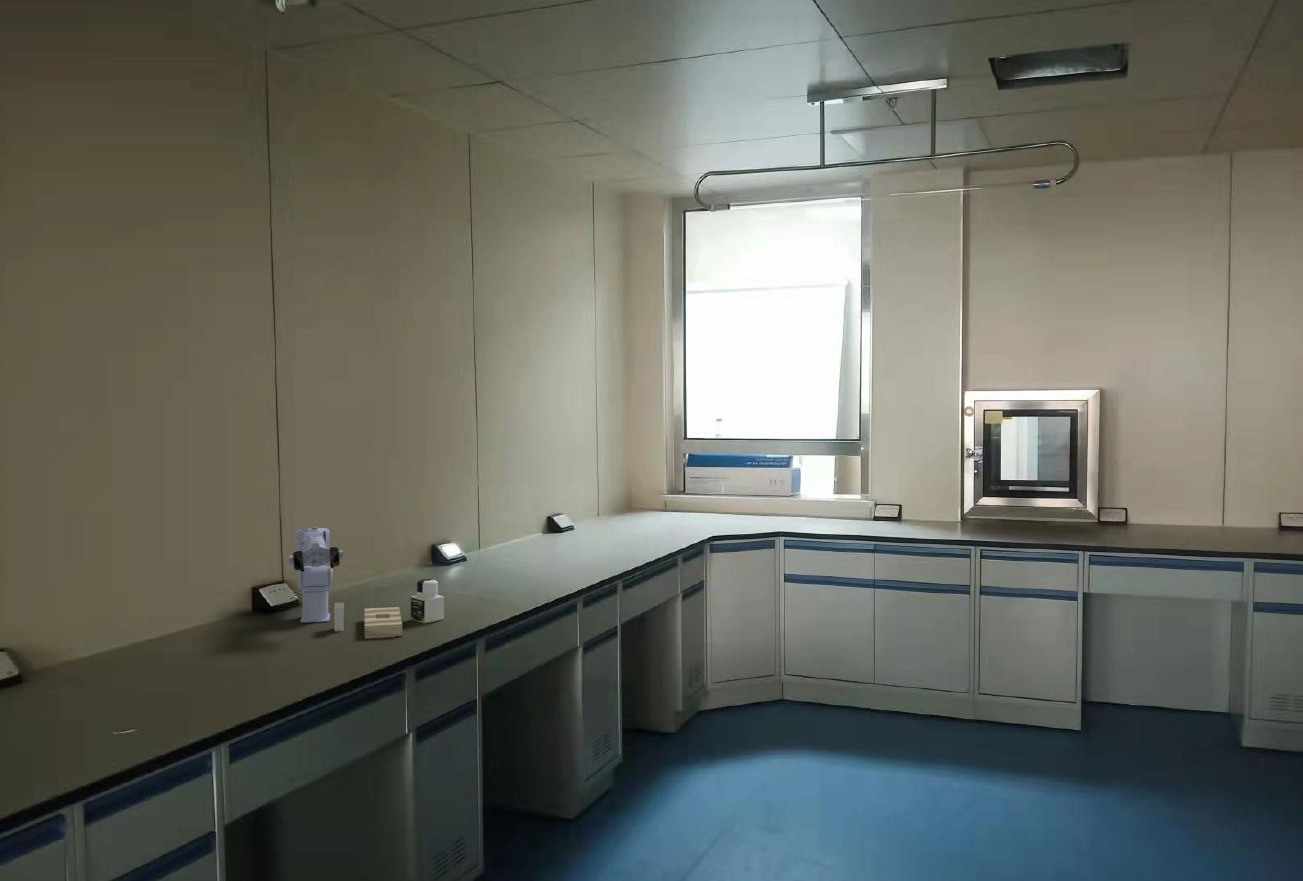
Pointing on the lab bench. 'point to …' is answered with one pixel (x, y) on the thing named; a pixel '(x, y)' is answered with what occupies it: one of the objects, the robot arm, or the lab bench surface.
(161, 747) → the lab bench surface
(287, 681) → the lab bench surface
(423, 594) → the medicine bottle
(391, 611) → the beige slab
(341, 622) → the grey rectangular prism
